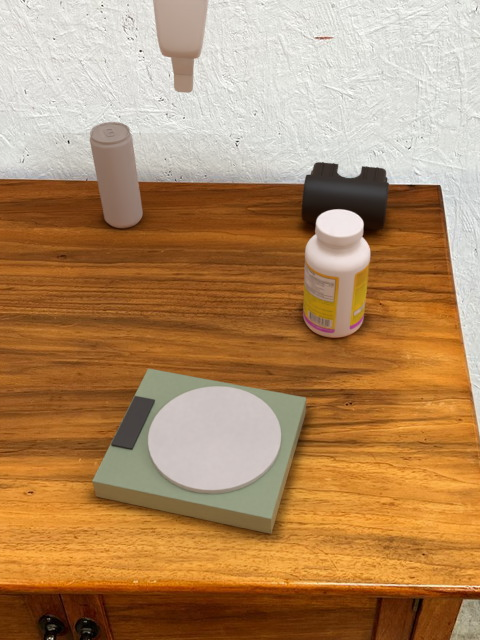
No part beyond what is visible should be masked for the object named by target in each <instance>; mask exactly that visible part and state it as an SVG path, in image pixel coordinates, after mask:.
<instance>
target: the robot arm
mask: <svg viewBox="0 0 480 640" xmlns="http://www.w3.org/2000/svg"><path fill="white" fill-rule="evenodd" d="M152 3H153V5H152V6H153V12H154V13H153V15H154V21H155V22H154V23H155V30H156V38H157V43H158V47H159V51H160V53H161V55H162V56H163V57H167V58H170V61H171V67H172V73H173V89H174V90H175V91H176V92H177V93H186V94H189V93H191V92H192V91H193V90H194V67H195V59H198V58H200V57H201V54H202V51H203V45H204V39H205V31H206V23H207V16H208V7H209V0H152Z"/></svg>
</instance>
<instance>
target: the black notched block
mask: <svg viewBox="0 0 480 640" xmlns="http://www.w3.org/2000/svg"><path fill="white" fill-rule="evenodd" d="M338 169H339V163H335V162H332V163H331V162H324V161H322V162H321V161H318V162H315V163H314V164H313V167H312V170H311V171H310V174H306V175H305V178H304V182H303V190H302V200H301V220H302V221H303V222H304V223H307V224H311V225H316V220H317V218H318V217H319V215H321V214H322V213H324V212H326V211H329V210H335V209H342V210H348V211H351V212H354V213H355V214H357V215H358V216H359V217H361V219H362V220H363V224H364V226H363V230H370V231H381V230H383V229H385V221H386V213H387V207H388V206H387V205H388V198H389V190H390V183H389V182H388V177H387V170H386V169H385V168H382V167H379V166H377V167H373V166H367V165H366V166H365V165H364V166H363V165H362V166H361V169H360V174H359V175H357V176H355V177H346V176H342V175H340V174H339V172H338Z"/></svg>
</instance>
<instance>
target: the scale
mask: <svg viewBox="0 0 480 640" xmlns="http://www.w3.org/2000/svg"><path fill="white" fill-rule="evenodd" d="M306 413H307V397H305V396H299V395H295V394H294V395H293V394H289V393H284V392H278V391H273V390H267V389H263V388H257V387H252V386H245V385H240V384H235V383H230V382H224V381H218V380H214V379H208V378H202V377H199V376H198V377H197V376H191V375H186V374H180V373H175V372H169V371H165V370H159V369H155V368H147V370H146V371H145V373H144V376H143V378H142V380H141V382H140V383H139V386H138V388H137V390H136V392H135V394H134V395H133V398H132V399H131V402H130V404H129V406H128V408H127V409H126V412H125V413H124V416H123V418H122V419H121V421H120V423H119V426H118V428H117V429H116V432H115V434H114V436H113V438H112V440H111V442H110V444H109V446H108V448H107V450H106V452H105V454H104V456H103V458H102V460H101V462H100V464H99V466H98V468H97V470H96V471H95V474H94V476H93V478H92V482H91V483H92V485H93V489H94V493H95V496H96V497H97V498H101V499H106V500H110V501H115V502H121V503H125V504H129V505H133V506H138V507H144V508H148V509H153V510H158V511H162V512H166V513H171V514H175V515H181V516H184V517H189V518H194V519H200V520H204V521H208V522H212V523H213V522H214V523H218V524H222V525H227V526H232V527H236V528H242V529H244V530H245V529H247V530H250V531H255V532H260V533H265V534H269V535H271V534H272V533H273V530H274V527H275V523H276V519H277V516H278V513H279V509H280V505H281V502H282V498H283V495H284V491H285V488H286V484H287V480H288V478H289V473H290V470H291V468H292V467H291V466H292V463H293V460H294V456H295V452H296V450H297V446H298V442H299V438H300V435H301V432H302V428H303V425H304V424H303V423H304V422H305V418H306Z"/></svg>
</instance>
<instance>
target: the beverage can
mask: <svg viewBox="0 0 480 640" xmlns="http://www.w3.org/2000/svg"><path fill="white" fill-rule="evenodd" d="M89 144H90V148H91V154H92V159H93V160H92V161H93V165H94V171H95V176H96V182H97V186H98V192H99V196H100V202H101V208H102V213H103V218H104V221H105V222H106V223H107V224H108V225H109V226H111V227H113V228H116V229H128V228H131V227H134V226H136V225H137V224H139V222H140V221H141V219H142V218H143V213H144V212H143V206H142V205H143V204H142V198H141V191H140V185H139V183H140V182H139V176H138V170H137V163H136V157H135V148H134V140H133V135H132V132H131V130H130V127H129V126H128V125H126V124H125V123H122V122H118V121H117V122H116V121H107V122H102V123H99V124H97V125H94V126H93V127H92V128H91V130H90V131H89Z"/></svg>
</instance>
